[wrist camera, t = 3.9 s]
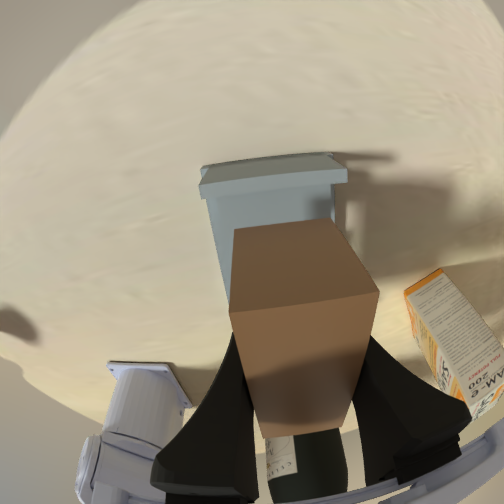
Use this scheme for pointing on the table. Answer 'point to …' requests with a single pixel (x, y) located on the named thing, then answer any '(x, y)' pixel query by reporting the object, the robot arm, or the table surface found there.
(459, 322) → the supplement box
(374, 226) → the table surface
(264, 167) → the display stand
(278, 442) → the wine bottle
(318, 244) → the brown rectangular block
